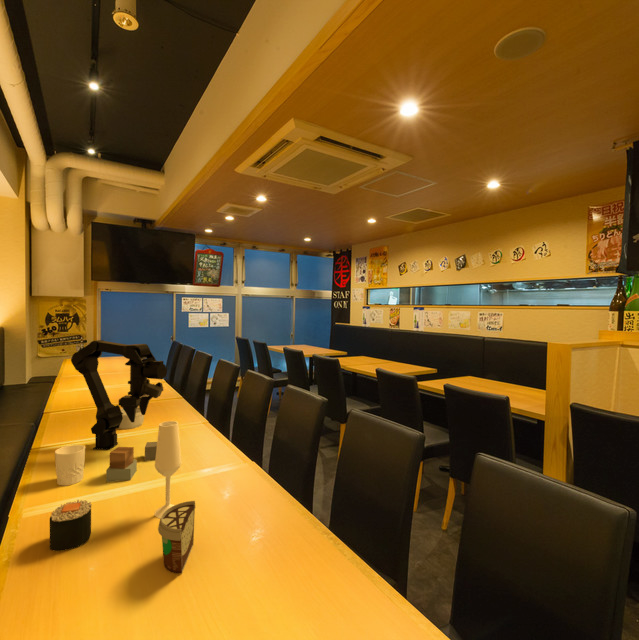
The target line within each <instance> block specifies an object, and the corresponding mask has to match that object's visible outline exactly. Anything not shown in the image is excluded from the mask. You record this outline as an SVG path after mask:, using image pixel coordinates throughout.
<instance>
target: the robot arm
mask: <svg viewBox="0 0 639 640" xmlns="http://www.w3.org/2000/svg"><path fill="white" fill-rule="evenodd" d="M103 353H106V354H107V353H108V354H113V355H114V354H115V355H119V356H122V357H123V358H124V359H125V358H126V359H127V360H128V361H127V362H126V363H124V365H125V366H128V367H129V366H130V368H129V371H130V372H129V379H130V380H128V381H127V384H128V385H129V391H128V392H127V394H125V395H124V396H122V397H120V398H119V399H118V404H117V405H115V404H113V403H112V402H111V400H110V397H109V395H108V393H107V389H106V388H105V386H104V383H103V381H102V378H101V375H100V374H99V371H98V368H99V358H100V357H102V354H103ZM70 361H71V364H72V365H73V368H74V369H75V371H77V372H78V373H79V374H81V375H82V376H83V378H84V381H85V383H86V385H87V388H88V391H89V393H90V396H91V397H92V400H93V402H94V405H95V407H96V413H95V414H96V415H95V420H96V423H95V424H94V425H93V426H91V428H90V430H91V433H92V435H95V440H94V441H95V442H94V443H95V446H93V448H92V450H111V449H113V448H114V447H115V446H116V445H118V444H119V442H118V433H117V429H118V428H119V426H120V424H121V422H122V420H123V417H122V414H123V413H122V412H121V410H120V409H122V408H123V409H124V411H125V412H126V414H127V416H128V418H129V419H130V421H131V422H134V421H135V416H136V409H137V407H140V411H141V414H142V415H144V416H145V415H146V412H147V409H148V406H149V403H150V400H152V399H153V398H154V399H158V398H159V397H161V395H162V392H164V386H163V382H160V381H158V382H157V383H151V382H150V379H152V380H164V379H165V378H166V376H167V374H168V368H167V366H166V365H165V364H164V360H157V359H156V357H155V356H154V354H153V353H152V351H151V349H150V347H149V345H148V344H147V343H136V344H135V343H134V344H126V343H121V342H120V343H119V342H113V341H106V340H104V339H100V340H99V339H98V340H97V339H96V340H92V341H90V342H89V343H88V344H87V345H85V346H83V347H82V348H81V349H79V350H78V351H76V352H74V353H73V354H72V356H71V359H70Z"/></svg>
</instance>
